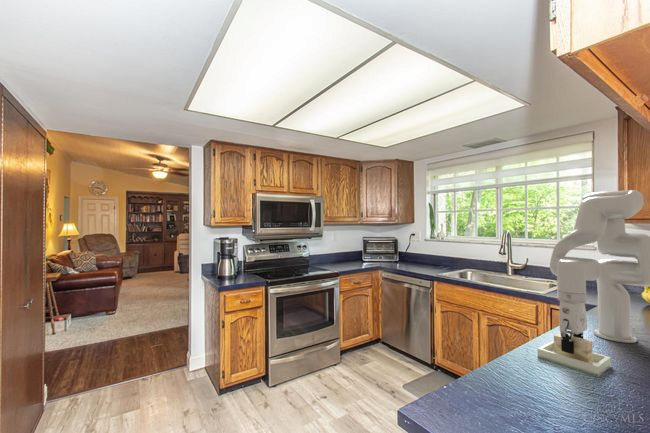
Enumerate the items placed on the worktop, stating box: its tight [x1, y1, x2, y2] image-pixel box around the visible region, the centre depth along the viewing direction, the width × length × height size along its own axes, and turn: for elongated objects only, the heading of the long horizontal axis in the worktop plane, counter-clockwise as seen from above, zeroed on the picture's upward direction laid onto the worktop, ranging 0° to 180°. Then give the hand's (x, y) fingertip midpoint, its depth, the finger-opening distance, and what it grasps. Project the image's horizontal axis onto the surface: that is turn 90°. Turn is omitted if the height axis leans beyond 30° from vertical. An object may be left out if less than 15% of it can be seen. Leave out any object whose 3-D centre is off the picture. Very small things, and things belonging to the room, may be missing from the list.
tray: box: [536, 340, 612, 378], centre depth 100 cm, size 12×16×3 cm
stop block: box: [553, 332, 593, 364], centre depth 100 cm, size 9×4×7 cm, turn 34°
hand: (572, 349), depth 100 cm, fingers open, 7 cm apart
